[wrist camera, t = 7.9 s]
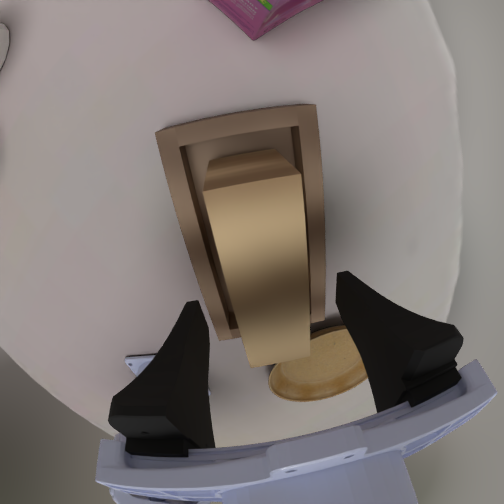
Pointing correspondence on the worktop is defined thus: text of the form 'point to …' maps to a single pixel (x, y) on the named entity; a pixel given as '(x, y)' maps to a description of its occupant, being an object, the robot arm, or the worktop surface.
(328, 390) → the plant saucer
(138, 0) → the worktop surface
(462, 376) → the robot arm
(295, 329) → the wooden block
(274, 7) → the box
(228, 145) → the walnut peg frame
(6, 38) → the white cup
